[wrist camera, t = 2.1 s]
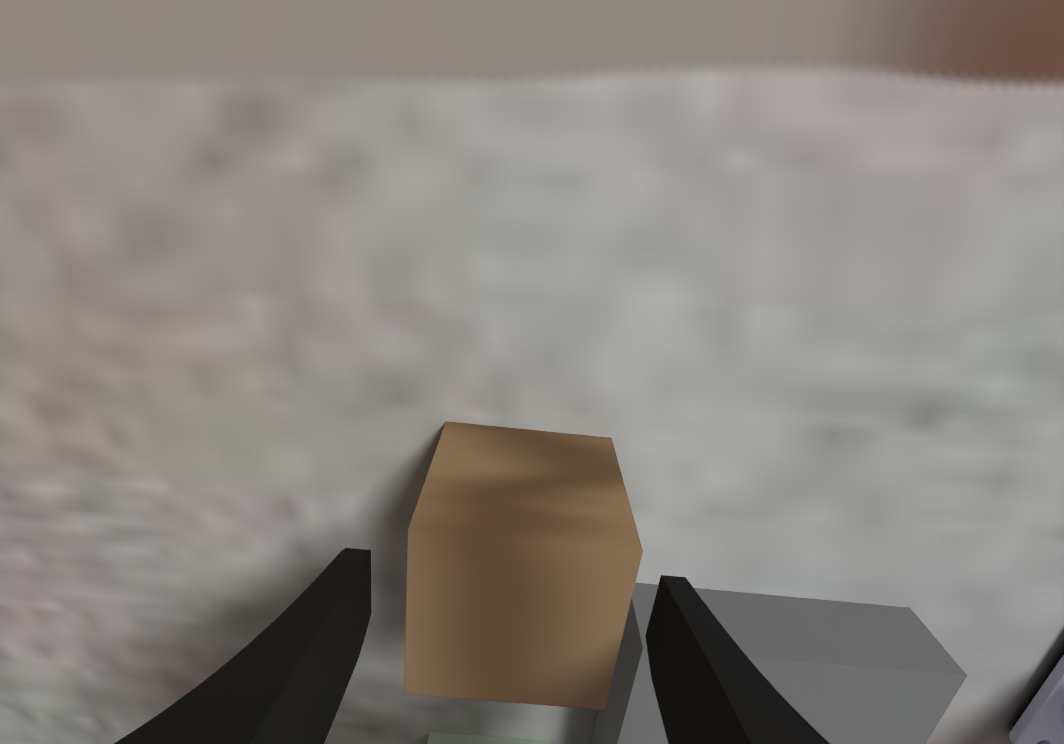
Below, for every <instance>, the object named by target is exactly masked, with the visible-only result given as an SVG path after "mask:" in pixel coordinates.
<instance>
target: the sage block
mask: <svg viewBox="0 0 1064 744" xmlns="http://www.w3.org/2000/svg"><path fill="white" fill-rule="evenodd" d="M427 744H554V742H553V741H546V740H533V739H520V738H508V737H495V736H482V735H469V734H456V733H443V732H430V731H429V736H428V742H427Z"/></svg>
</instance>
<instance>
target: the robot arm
mask: <svg viewBox="0 0 1064 744" xmlns="http://www.w3.org/2000/svg"><path fill="white" fill-rule="evenodd" d="M370 616H371V550H362V549H351V548H345V549H344V550H342V551H341V552H340V553H339V554H338V555H337V556H336V558H335V559H334V560H333V561H332V562H331V563H330V564H329V565H328V566H327V568H326V569H325V570H324V571H323V572H322V573H321V574H320V575H319V576H318V577H317V578H316V579H315V580H314V582H313V583H312V584H311V585H310V586H309V587H308V588H307V589H306V590H305V591H304V592H303V593H302V594H301V595H300V596H299V597H298V598H297V599H296V600H295V601H294V602H293V603H292V604H291V605H290V606H289V607H288V608H287V609H286V610H285V611H284V612H283V613H282V614H281V615H280V616H279V617H278V618H277V619H276V620H275V621H274V622H272V623H271V624H270V625H269V626H268V627H267V628H266V629H265V630H264V631H263V632H262V633H260V634H259V635H258V636H257V637H256V638H255V639H254V640H253V641H252V642H251V643H249V644H248V645H247V646H246V647H245V648H244V649H243V650H241V651H240V652H239V653H238V654H237V655H236V656H234V657H233V658H232V659H231V660H230V661H228V662H227V663H226V664H225V665H224V666H222V667H221V668H220V669H219V670H217V671H216V672H215V673H214V674H212V675H211V676H210V677H209V678H207V679H206V680H205V681H203V682H202V683H201V684H200V685H198V686H197V687H196V688H194V689H193V690H191V691H190V692H189V693H187V694H186V695H185V696H183V697H182V698H181V699H179V700H178V701H177V702H175V703H174V704H173V705H171V706H170V707H168V708H167V709H166V710H164V711H163V712H161V713H160V714H158V715H157V716H156V717H154V718H153V719H151V720H150V721H148V722H147V723H145V724H144V725H142V726H141V727H139V728H138V729H136V730H135V731H133V732H132V733H130V734H128V735H127V736H125V737H124V738H122V739H121V740H119V741H118V742H116V743H114V744H324V742H325V740H326V737H327V735H328V732H329V730H330V727H331V725H332V722H333V720H334V718H335V715H336V713H337V710H338V708H339V705H340V703H341V700H342V698H343V695H344V693H345V690H346V688H347V685H348V683H349V680H350V678H351V675H352V673H353V670H354V668H355V665H356V663H357V660H358V658H359V655H360V651H361V648H362V644H363V641H364V638H365V634H366V630H367V627H368V623H369V620H370ZM645 637H646V644H647V651H648V659H649V665H650V672H651V678H652V682H653V686H654V690H655V694H656V698H657V702H658V706H659V710H660V714H661V717H662V721H663V725H664V729H665V732H666V736H667V740H668V744H830V743H829V742H828V741H827V740H826V739H825V738H824V737H822V736H821V735H820V734H819V733H818V732H817V731H816V730H815V729H814V728H813V727H812V726H811V725H810V724H809V723H808V722H807V721H806V720H805V719H804V718H803V717H802V716H801V715H800V714H799V713H798V712H797V711H796V710H795V709H794V708H793V707H792V706H791V705H790V704H789V703H788V702H787V701H786V700H785V699H784V698H783V697H782V695H781V694H780V693H779V692H778V691H777V690H776V689H775V688H774V687H773V686H772V685H771V683H770V682H769V681H768V680H767V679H766V678H765V677H764V676H763V674H762V673H761V672H760V671H759V670H758V669H757V668H756V667H755V665H754V664H753V663H752V662H751V661H750V659H749V658H748V657H747V656H746V655H745V653H744V652H743V651H742V650H741V648H740V647H739V646H738V645H737V644H736V642H735V641H734V640H733V639H732V637H731V636H730V635H729V634H728V632H727V631H726V630H725V629H724V627H723V626H722V625H721V624H720V622H719V621H718V620H717V618H716V617H715V616H714V614H713V613H712V612H711V611H710V609H709V608H708V607H707V605H706V604H705V603H704V601H703V600H702V599H701V597H700V596H699V595H698V593H697V592H696V591H695V589H694V588H693V587H692V586H691V584H690V583H689V582H688V580H687V579H686V578H685V577H675V576H663V575H661V578H660V582H659V585H658V589H657V593H656V597H655V601H654V604H653V608H652V612H651V616H650V620H649V623H648V627H647V631H646V635H645ZM1009 740H1010V741H1011V742H1012V743H1013V744H1064V655H1063V656H1062V657H1061V659H1060V660H1059V662H1058V663H1057V665H1056V666H1055V668H1054V669H1053V671H1052V672H1051V673H1050V675H1049V676H1048V678H1047V679H1046V681H1045V682H1044V684H1043V685H1042V686H1041V688H1040V689H1039V691H1038V692H1037V694H1036V695H1035V697H1034V698H1033V700H1032V701H1031V702H1030V704H1029V705H1028V707H1027V708H1026V710H1025V711H1024V713H1023V714H1022V715H1021V717H1020V718H1019V720H1018V721H1017V723H1016V724H1015V726H1014V727H1013V729H1012V730H1011V731H1010V734H1009Z"/></svg>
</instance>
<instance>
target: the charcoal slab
mask: <svg viewBox="0 0 1064 744" xmlns="http://www.w3.org/2000/svg"><path fill="white" fill-rule="evenodd" d="M657 589H658V585H655V584H644V583H635V585H634V589H633V594H632V598H631V602H630V606H629V610H628V615H627V619H626V623H625V627H624V631H623V636H622V640H621V644H620V648H619V652H618V657H617V661H616V665H615V669H614V673H613V678H612V682H611V686H610V690H609V694H608V699H607V703H606V707H605V710H599V709H598V712H597V716H596V721H595V725H594V729H593V733H592V738H591V742H590V744H668V740H667V736H666V732H665V729H664V725H663V721H662V717H661V714H660V710H659V706H658V702H657V698H656V694H655V690H654V686H653V682H652V678H651V672H650V665H649V659H648V651H647V644H646V637H645V635H646V631H647V627H648V623H649V620H650V616H651V612H652V608H653V604H654V601H655V597H656V593H657ZM694 589H695V591H696V592H697V593H698V595H699V596H700V597H701V599H702V600H703V601H704V603H705V604H706V605H707V607H708V608H709V609H710V611H711V612H712V613H713V614H714V616H715V617H716V618H717V620H718V621H719V622H720V624H721V625H722V626H723V627H724V629H725V630H726V631H727V632H728V634H729V635H730V636H731V637H732V639H733V640H734V641H735V642H736V644H737V645H738V646H739V647H740V648H741V650H742V651H743V652H744V653H745V655H746V656H747V657H748V658H749V659H750V661H751V662H752V663H753V664H754V665H755V667H756V668H757V669H758V670H759V671H760V672H761V673H762V674H763V676H764V677H765V678H766V679H767V680H768V681H769V682H770V683H771V685H772V686H773V687H774V688H775V689H776V690H777V691H778V692H779V693H780V694H781V695H782V697H783V698H784V699H785V700H786V701H787V702H788V703H789V704H790V705H791V706H792V707H793V708H794V709H795V710H796V711H797V712H798V713H799V714H800V715H801V716H802V717H803V718H804V719H805V720H806V721H807V722H808V723H809V724H810V725H811V726H812V727H813V728H814V729H815V730H816V731H817V732H818V733H819V734H820V735H821V736H822V737H824V738H825V739H826V740H827V741H828V742H829V743H830V744H925V743H926V742H927V740H928V739H929V737H930V735H931V734H932V732H933V730H934V729H935V727H936V726H937V724H938V722H939V721H940V719H941V717H942V716H943V714H944V712H945V711H946V709H947V708H948V706H949V704H950V703H951V701H952V699H953V698H954V696H955V695H956V693H957V691H958V690H959V688H960V686H961V685H962V683H963V682H964V680H965V678H966V677H967V675H966V674H965V673H964V671H963V670H962V669H961V668H960V667H959V665H958V664H957V663H956V662H955V661H954V660H953V658H952V657H951V656H950V655H949V654H948V652H947V651H946V650H945V649H944V648H943V646H942V645H941V644H940V643H939V642H938V641H937V639H936V638H935V637H934V636H933V635H932V633H931V632H930V631H929V630H928V629H927V628H926V626H925V625H924V624H923V623H922V622H921V620H920V619H919V618H918V617H917V616H916V615H915V613H914V612H913V611H912V610H911V609H910V608H906V607H895V606H884V605H873V604H862V603H851V602H840V601H829V600H818V599H808V598H797V597H786V596H775V595H764V594H753V593H742V592H731V591H720V590H709V589H698V588H694Z"/></svg>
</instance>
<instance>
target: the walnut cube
mask: <svg viewBox="0 0 1064 744" xmlns="http://www.w3.org/2000/svg"><path fill="white" fill-rule="evenodd" d="M642 552H643V551H642V547H641V543H640V540H639V536H638V532H637V529H636V525H635V522H634V518H633V514H632V511H631V507H630V504H629V500H628V496H627V493H626V489H625V486H624V482H623V478H622V475H621V471H620V468H619V464H618V460H617V457H616V453H615V449H614V446H613V442H612V439H611V438H606V437H596V436H586V435H576V434H566V433H556V432H546V431H536V430H526V429H516V428H506V427H496V426H486V425H476V424H466V423H456V422H446V423H445V425H444V428H443V431H442V434H441V437H440V440H439V442H438V445H437V448H436V451H435V454H434V457H433V460H432V462H431V465H430V468H429V471H428V474H427V477H426V479H425V482H424V485H423V488H422V491H421V494H420V497H419V499H418V502H417V505H416V508H415V511H414V514H413V516H412V519H411V522H410V525H409V528H408V551H407V591H406V631H405V672H404V693H405V694H417V695H429V696H441V697H453V698H465V699H477V700H490V701H502V702H514V703H526V704H538V705H550V706H562V707H575V708H587V709H599V710H605V707H606V703H607V699H608V694H609V690H610V686H611V682H612V678H613V673H614V669H615V665H616V661H617V657H618V652H619V648H620V644H621V640H622V636H623V631H624V627H625V623H626V619H627V615H628V610H629V606H630V602H631V598H632V594H633V589H634V585H635V581H636V577H637V573H638V568H639V564H640V560H641V556H642Z"/></svg>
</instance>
